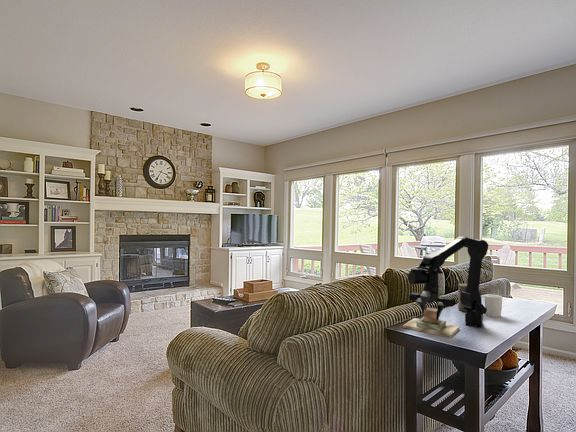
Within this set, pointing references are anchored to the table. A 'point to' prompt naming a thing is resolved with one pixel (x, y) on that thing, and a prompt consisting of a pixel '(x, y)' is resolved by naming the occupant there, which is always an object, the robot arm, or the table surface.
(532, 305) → the table surface
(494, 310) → the white cup
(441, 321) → the socket board
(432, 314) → the terracotta cube
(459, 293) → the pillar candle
